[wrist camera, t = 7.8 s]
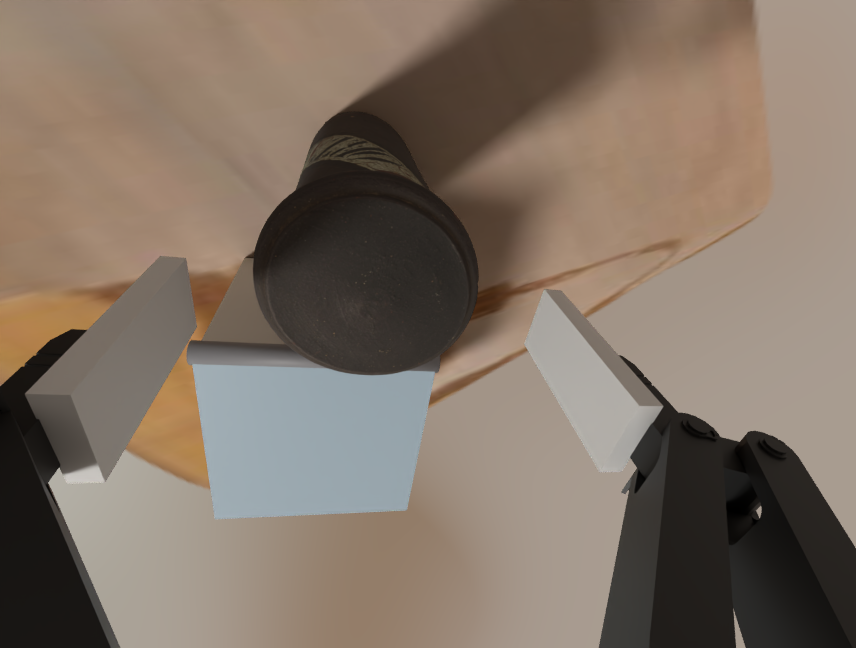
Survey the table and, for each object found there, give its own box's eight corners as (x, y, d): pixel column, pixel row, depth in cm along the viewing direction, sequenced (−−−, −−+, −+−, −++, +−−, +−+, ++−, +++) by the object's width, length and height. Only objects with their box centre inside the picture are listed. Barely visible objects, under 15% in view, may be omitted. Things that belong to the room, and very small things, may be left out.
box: (244, 257, 34) (200, 342, 24) (410, 271, 37) (431, 352, 27) (254, 384, 41) (223, 489, 31) (391, 387, 44) (403, 483, 34)
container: (388, 87, 28) (439, 134, 12) (433, 203, 34) (511, 347, 17) (279, 138, 29) (186, 249, 13) (339, 245, 34) (328, 421, 18)
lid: (407, 496, 33) (409, 511, 32) (217, 503, 30) (211, 520, 29) (437, 346, 26) (441, 358, 25) (193, 335, 23) (185, 349, 22)
